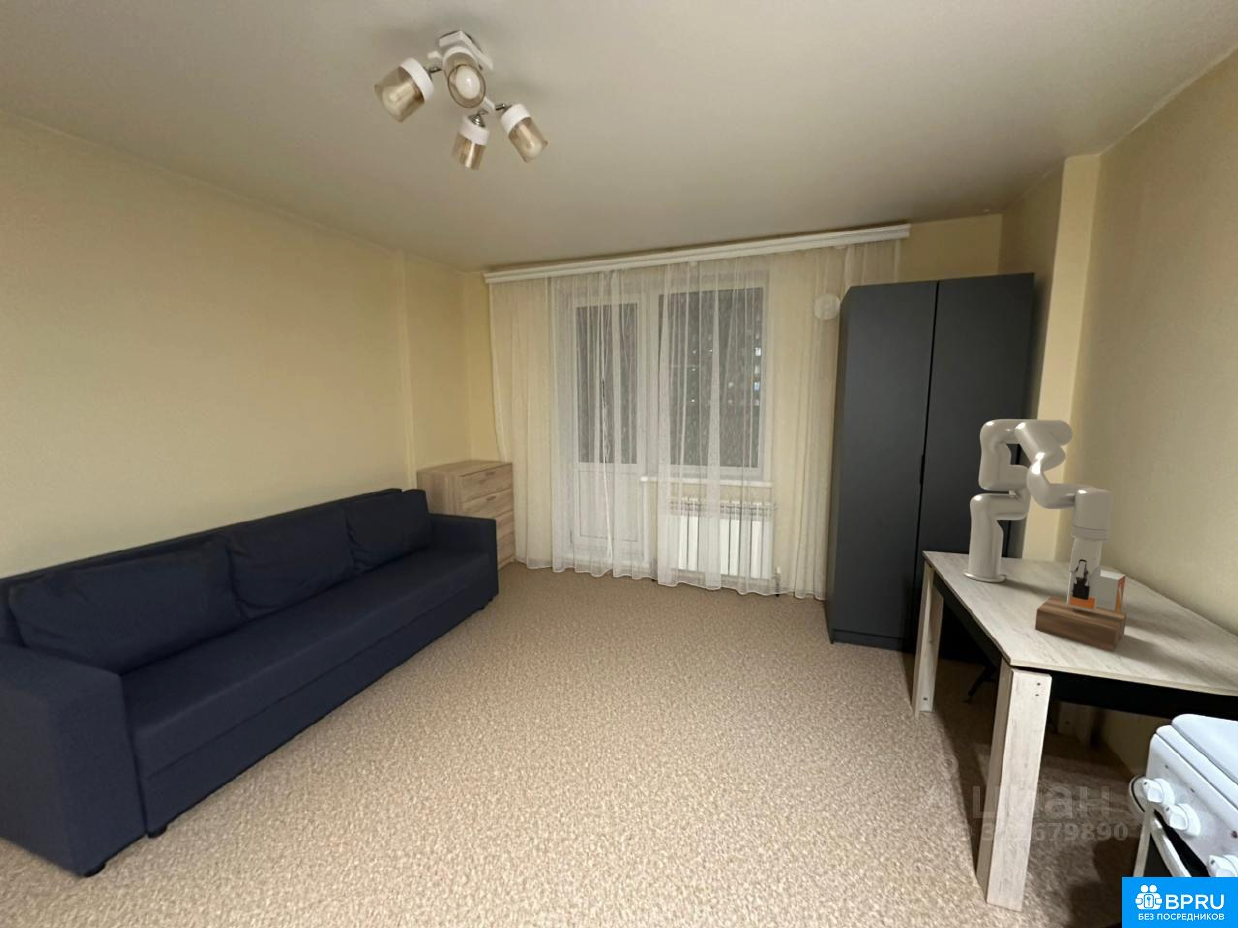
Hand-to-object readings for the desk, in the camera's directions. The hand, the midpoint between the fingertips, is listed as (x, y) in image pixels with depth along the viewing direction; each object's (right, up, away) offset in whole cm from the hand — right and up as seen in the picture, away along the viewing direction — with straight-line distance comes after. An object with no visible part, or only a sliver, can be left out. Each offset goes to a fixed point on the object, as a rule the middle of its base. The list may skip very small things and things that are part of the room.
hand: (1082, 595), depth 137 cm
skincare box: (0, -4, 0) cm, 4 cm away
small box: (+18, -10, +12) cm, 24 cm away
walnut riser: (0, -11, +1) cm, 11 cm away
